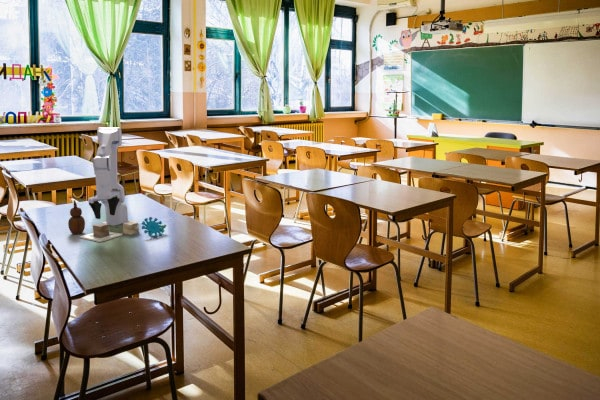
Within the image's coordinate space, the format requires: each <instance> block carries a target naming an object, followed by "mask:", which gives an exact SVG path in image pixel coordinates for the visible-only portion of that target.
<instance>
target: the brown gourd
mask: <svg viewBox="0 0 600 400" xmlns="http://www.w3.org/2000/svg"><path fill="white" fill-rule="evenodd" d="M69 215H70V216H71V217H70V218H69V219H68V222H67V224H68V225H67V226H68V230H69V231H70V234H73V235H80V234H82V233H83V232H84V231H85V229H86V228H85V227H86V220H85V218H84V216H82V215H83V210H82V208H80V207H78V204H77V202H76V200H73V207H71V209H70V210H69Z"/></svg>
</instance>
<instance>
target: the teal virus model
mask: <svg viewBox="0 0 600 400" xmlns="http://www.w3.org/2000/svg"><path fill="white" fill-rule="evenodd" d="M141 225H142V226H141V230H144V231H143V234H145V235H148V237H150V238H151V237H154V238H158V237H162V235H163V234H164V232H165V229H166V227H167V224H163V222H162V221H161V220H159V221H158V218H157V217H154V220H153V217H151V216H149V217H148V218H147V217H145V218H144V219H143V221H142V222H141ZM153 234H154V235H153ZM152 235H153V236H152Z"/></svg>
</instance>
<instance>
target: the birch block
mask: <svg viewBox="0 0 600 400" xmlns="http://www.w3.org/2000/svg"><path fill="white" fill-rule="evenodd" d="M122 226H123V227H122V229H123V234H126V235H131V236H132V235H135V234H139V233H140V230H139V229H140V227H139V226H140V225H139V222H138V221H130V220H129V222H126V223H122Z"/></svg>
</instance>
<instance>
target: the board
mask: <svg viewBox="0 0 600 400" xmlns="http://www.w3.org/2000/svg"><path fill="white" fill-rule="evenodd" d="M122 236H123V233H120V232H113V231H109V235H106V236H103V237H98V236H94V235H93V232H92V233H91V232H90V233H88V234H84V235H80V236H79V239H82V240H87V241H88V240H89V241H93V242H98V243H102V242H105V241H108V240H111V239H116V238H118V237H122Z"/></svg>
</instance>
